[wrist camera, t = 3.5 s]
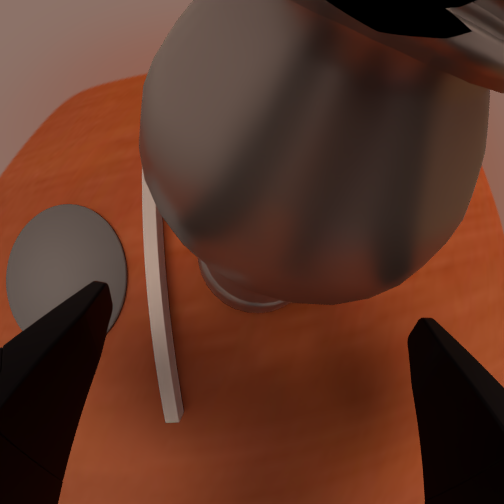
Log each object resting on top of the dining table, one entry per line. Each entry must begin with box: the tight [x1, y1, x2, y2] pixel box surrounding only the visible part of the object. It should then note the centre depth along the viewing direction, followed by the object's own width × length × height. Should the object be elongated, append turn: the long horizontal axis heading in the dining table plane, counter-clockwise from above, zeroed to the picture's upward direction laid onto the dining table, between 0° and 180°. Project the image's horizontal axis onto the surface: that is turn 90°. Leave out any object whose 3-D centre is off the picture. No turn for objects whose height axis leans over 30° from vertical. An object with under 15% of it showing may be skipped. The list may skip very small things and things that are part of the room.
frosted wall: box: [142, 168, 184, 423], centre depth 18 cm, size 18×1×2 cm, turn 7°
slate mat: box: [6, 204, 127, 333], centre depth 18 cm, size 10×10×1 cm
